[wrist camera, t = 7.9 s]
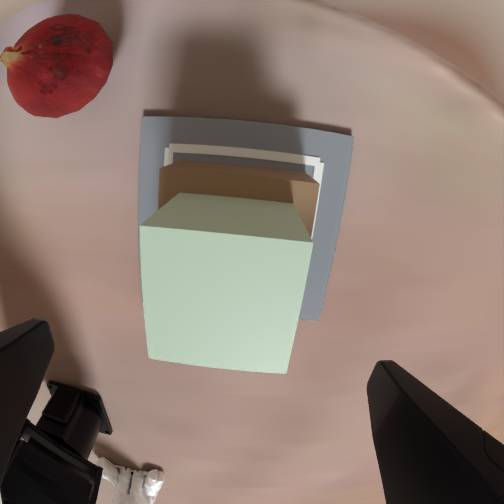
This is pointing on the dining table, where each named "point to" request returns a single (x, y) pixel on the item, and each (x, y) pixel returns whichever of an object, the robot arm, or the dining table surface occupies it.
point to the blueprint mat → (260, 155)
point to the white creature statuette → (132, 483)
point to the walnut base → (241, 184)
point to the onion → (58, 65)
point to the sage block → (223, 281)
